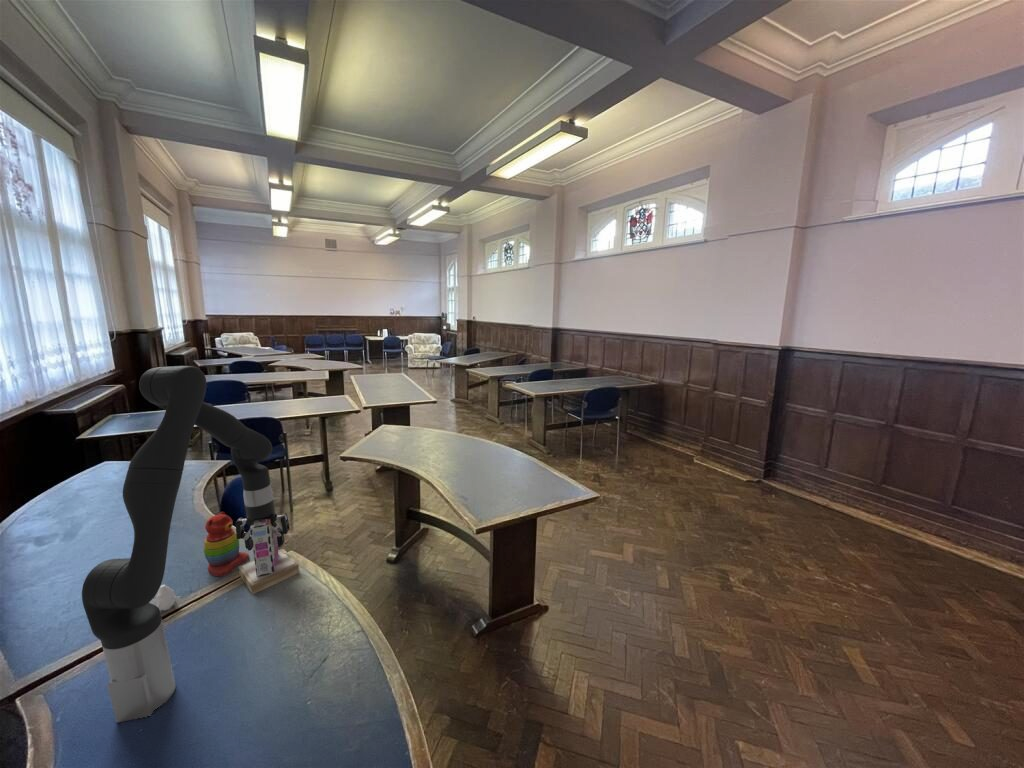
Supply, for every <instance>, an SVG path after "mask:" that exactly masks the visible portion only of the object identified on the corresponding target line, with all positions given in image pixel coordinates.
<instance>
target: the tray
mask: <svg viewBox="0 0 1024 768" xmlns="http://www.w3.org/2000/svg"><path fill="white" fill-rule="evenodd" d="M280 552H282V553H280ZM283 553H288V552H287V551H286V549H284V548H282V547H281V548H279V549H278V557H277V561H276V566H275V571H274V573H272V574H268V575H263V576H259V577H257V575H256V568H255V560H251V561H249V562H247V563H244V564H241V565H239V566H238V573H239V576H240V578H241V579H242V581H243V582H244V584H245V586H247V588H248V590H249V591H250V593H252V595H255V594H257V593H259V592H261V591H264V590H266V589H267V588H270V587H271V586H274V585H276V584H278V583H281V582H282V581H284V580H286V579H289V578H291V577H293V576H295V575H298V574H299V573H300V566H299V563H298V562H297V561H296V560H295V559H294V558H293V557H292V556H291V555H290V554H289V553H288V554H283Z"/></svg>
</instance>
